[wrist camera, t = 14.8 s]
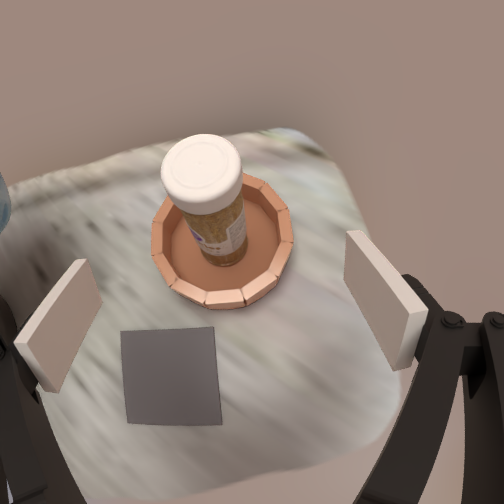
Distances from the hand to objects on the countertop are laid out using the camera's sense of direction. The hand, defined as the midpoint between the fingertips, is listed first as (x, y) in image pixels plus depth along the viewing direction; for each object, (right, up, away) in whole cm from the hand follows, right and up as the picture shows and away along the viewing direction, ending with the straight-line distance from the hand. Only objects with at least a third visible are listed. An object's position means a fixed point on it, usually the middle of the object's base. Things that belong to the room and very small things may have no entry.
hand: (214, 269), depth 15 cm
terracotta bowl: (-1, +1, +15) cm, 15 cm away
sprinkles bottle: (-1, +2, +14) cm, 14 cm away
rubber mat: (-6, -11, +11) cm, 16 cm away
